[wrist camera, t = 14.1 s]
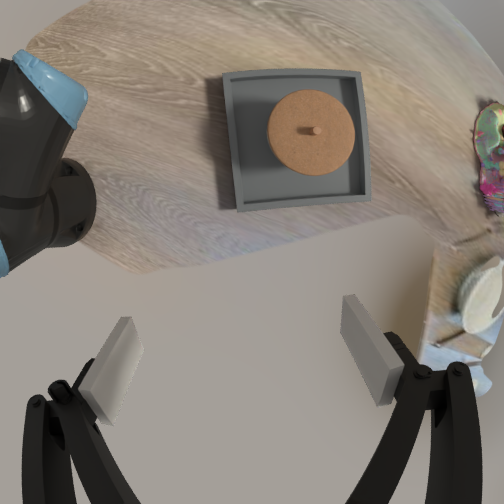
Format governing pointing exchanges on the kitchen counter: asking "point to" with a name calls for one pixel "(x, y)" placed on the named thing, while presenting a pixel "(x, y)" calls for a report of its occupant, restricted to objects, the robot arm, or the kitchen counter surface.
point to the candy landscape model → (491, 155)
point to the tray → (259, 152)
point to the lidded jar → (310, 132)
